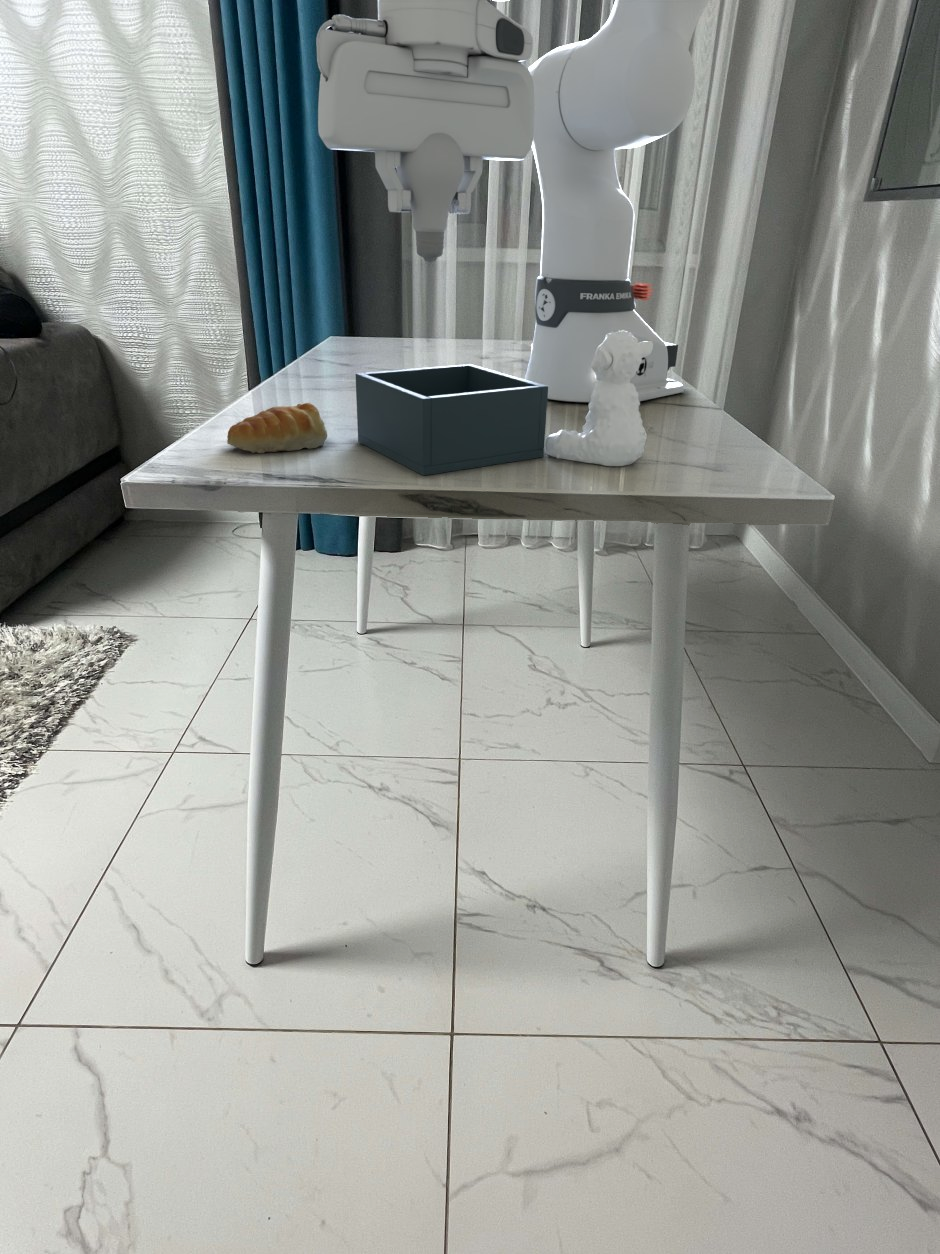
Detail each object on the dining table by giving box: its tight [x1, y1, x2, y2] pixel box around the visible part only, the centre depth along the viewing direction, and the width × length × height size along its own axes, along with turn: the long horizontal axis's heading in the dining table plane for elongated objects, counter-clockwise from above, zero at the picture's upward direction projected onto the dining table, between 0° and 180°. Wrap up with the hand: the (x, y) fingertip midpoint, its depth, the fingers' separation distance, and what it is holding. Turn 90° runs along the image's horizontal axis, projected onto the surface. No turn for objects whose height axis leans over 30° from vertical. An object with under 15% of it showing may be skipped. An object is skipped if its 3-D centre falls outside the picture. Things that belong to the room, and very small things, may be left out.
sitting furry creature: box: [544, 330, 653, 467], centre depth 77 cm, size 10×9×12 cm
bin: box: [354, 363, 549, 476], centre depth 80 cm, size 14×14×7 cm
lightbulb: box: [395, 133, 464, 263], centre depth 74 cm, size 6×6×11 cm
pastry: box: [226, 402, 328, 454], centre depth 80 cm, size 9×7×4 cm
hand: (430, 213), depth 74 cm, fingers closed on lightbulb, 5 cm apart
